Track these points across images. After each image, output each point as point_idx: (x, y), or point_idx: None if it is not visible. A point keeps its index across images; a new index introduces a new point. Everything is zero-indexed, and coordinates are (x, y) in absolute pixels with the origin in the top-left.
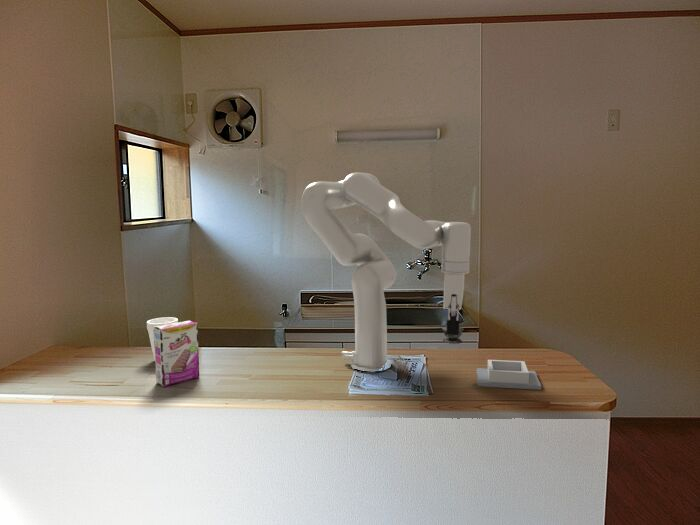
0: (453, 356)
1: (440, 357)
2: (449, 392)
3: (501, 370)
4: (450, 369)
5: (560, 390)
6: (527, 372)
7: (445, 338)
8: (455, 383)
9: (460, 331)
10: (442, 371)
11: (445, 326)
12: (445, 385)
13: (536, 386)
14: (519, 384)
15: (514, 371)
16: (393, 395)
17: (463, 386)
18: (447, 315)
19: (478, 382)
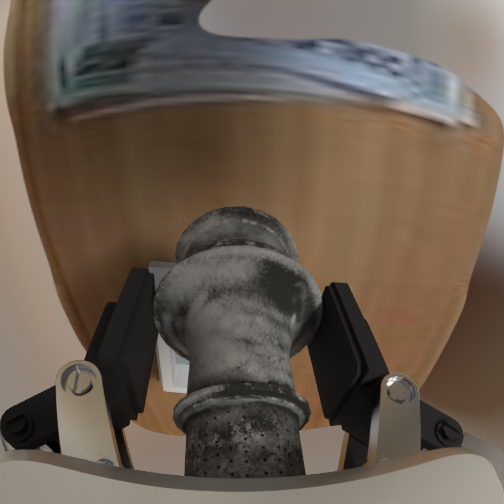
0: (442, 218)
1: (442, 174)
2: (81, 172)
3: (169, 348)
4: (319, 189)
5: (167, 398)
6: (166, 389)
7: (253, 229)
8: (164, 193)
9: (178, 353)
10: (297, 156)
11: (259, 281)
12: (140, 158)
13: (159, 376)
14: (158, 353)
15: (167, 370)
16: (46, 8)
17: (140, 217)
18: (214, 391)
19: (149, 268)
